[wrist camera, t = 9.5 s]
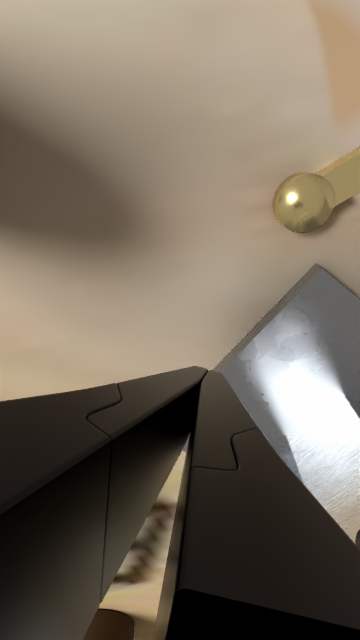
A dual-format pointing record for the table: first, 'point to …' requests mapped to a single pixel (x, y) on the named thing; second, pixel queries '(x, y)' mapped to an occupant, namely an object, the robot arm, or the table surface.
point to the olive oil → (110, 626)
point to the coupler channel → (298, 360)
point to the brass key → (316, 193)
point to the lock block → (333, 464)
